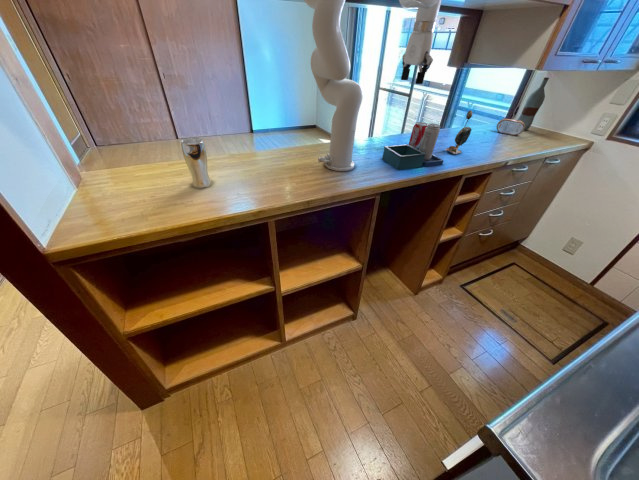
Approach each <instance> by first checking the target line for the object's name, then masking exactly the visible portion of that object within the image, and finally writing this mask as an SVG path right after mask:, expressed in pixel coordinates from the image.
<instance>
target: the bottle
mask: <svg viewBox="0 0 639 480" xmlns="http://www.w3.org/2000/svg"><path fill="white" fill-rule="evenodd" d="M549 80H550V77H545V76H544V77H543V79H542V81H541V83H540V85H539V87H537V88H536V89H535V90H534V91H533V92H532V93H531V94H529V96H528V98H527V99H526V101H525V103H524V105H523V108H522V111H521V112H520V115H519V116H518V118H517V119H516V120H518V121H522V122H524V124H525V128H524V131H523V132H525V131H528V130H529V129H530V127H532V124H533V122H534V120H535V117H536V115H537V114H538V112H539V110H540V108H541V107H542V105H543V103H544V101H545V98H546V94H545V87H546V85H547V84H548V81H549Z"/></svg>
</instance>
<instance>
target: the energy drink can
mask: <svg viewBox="0 0 639 480" xmlns="http://www.w3.org/2000/svg"><path fill="white" fill-rule="evenodd" d="M427 124H428V125H427V127H426V129H425V132H424V135H423V139H422V142H421V146H420V149H419V151H421V152H423V153H424V154H426V155H425V157H424V161H428V160H429V159H431V156H432V155H433V153H434V151H435V150H434V149H435V147H436V143H437V140H438V137H439V134H440V132H441V126H440V125H441V124H440V125H439V124H437V123H427Z"/></svg>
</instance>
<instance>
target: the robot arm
mask: <svg viewBox="0 0 639 480" xmlns="http://www.w3.org/2000/svg"><path fill="white" fill-rule="evenodd" d="M398 1H399V4H400V5H401V7H402V8H404V9H407V10H409V9H410V10H411V9H414V10H415V9H416V14H415V19H414V23H413V28H412V32H411V33H410V35H409V38H408V41H407V45H406V47H405V48H406V49H405V52H404V54H402V71H401V77H400V80H401V81H408V80H409V77H410V71H411V66H418V72H417V74H416V80H415V83H414V84H415V85H423V84H424V79H425V75H426V73H427V72H428V70H429V69H430V67H431V66H432V64H433V62H434V59H433V57H432V56H431V54H432V53H431V52H432V47H433V41H434V32H435V29H436V24H437V20H438V17H439V12H440V9H441V5H442V0H398ZM345 2H346V0H304V3H305V4H306V5H307V6H308V7H309V8H311V9H312V10H314V11H313V17H312V24H311V25H312V26H311V27H312V29H311V30H312V36H313V39H314V43H315V46H316V47H315V48H314V50H313V51H312V52H311V55H310V56H311V57H310V71H311V73H312V75H313V78H314V81H315V83H316V85H317V87H318V90H319V93H320V95H321V96H322V98H323V100H324V101H325V102H326V103H327V104H329V105H331V106H334V107H336V108H335V110H334V113H333V115H332V118H331V129H330V139H329V153H326V155H325V156H320V157H318V158H317V161H318V163H323V164H324V166H325V167H326V168H327V169H329V170H332V171H334V172H335V171H336V172H348V171H352V170H354V168H355V166H356V165H355V162H354V161H353V160H352V158H353V151H354V143H355V139H356V138H355V137H356V130H357V121H358V116H359V111H360V108H361V105H362V102H363V98H364V91H363V88H362V86H361V84H360V83H358V82H357V81H355V80H352V79H348V76H349V75H350V72H351V60H350V56H349V53H348V50H347V47H346V43H345V40H344V36H343V32H342V29H341V16H342V12H343V9H344V5H345V4H346V3H345Z"/></svg>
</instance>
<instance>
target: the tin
mask: <svg viewBox="0 0 639 480" xmlns="http://www.w3.org/2000/svg"><path fill="white" fill-rule="evenodd" d="M524 128H525V124H524V122H522V121H518V120H517V119H512V118H503V119H500V120H499V121H498V122H497V123H496V131H497V132H498V133H499V134H504V135H510V136H518V135H520V134H522V133H523V132H525V131H524Z"/></svg>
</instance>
